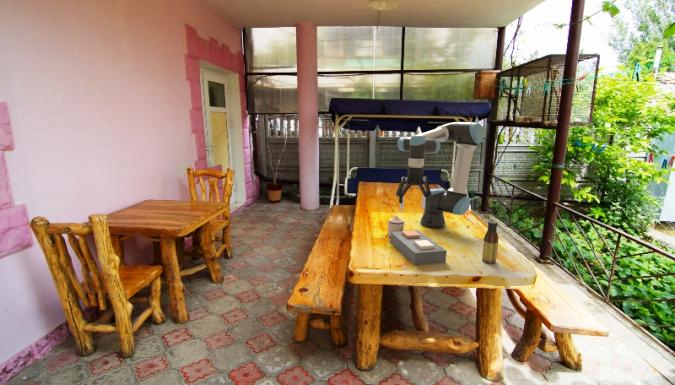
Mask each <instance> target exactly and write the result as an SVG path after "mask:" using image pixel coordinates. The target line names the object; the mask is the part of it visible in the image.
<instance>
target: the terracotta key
mask: <svg viewBox="0 0 675 385" xmlns="http://www.w3.org/2000/svg"><path fill="white" fill-rule="evenodd" d="M402 235H403V236H404V237H405V238H407V239H412V238H420V234H418V233H417V232H415V230H413V229H412V230H403V231H402Z"/></svg>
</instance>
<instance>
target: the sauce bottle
mask: <svg viewBox="0 0 675 385" xmlns="http://www.w3.org/2000/svg"><path fill="white" fill-rule="evenodd" d="M498 225H499V222H498V221H495V220H488V222H487V231H486V233H485V234H484V237H483V244H482V245H483V246H482V254H481V257H482V258H481V259H482V262H484V263H486V264H493V265H494V264H496V262H497V259H498V249H499V248H498V247H499V235H498V232H497V228H498Z"/></svg>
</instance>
